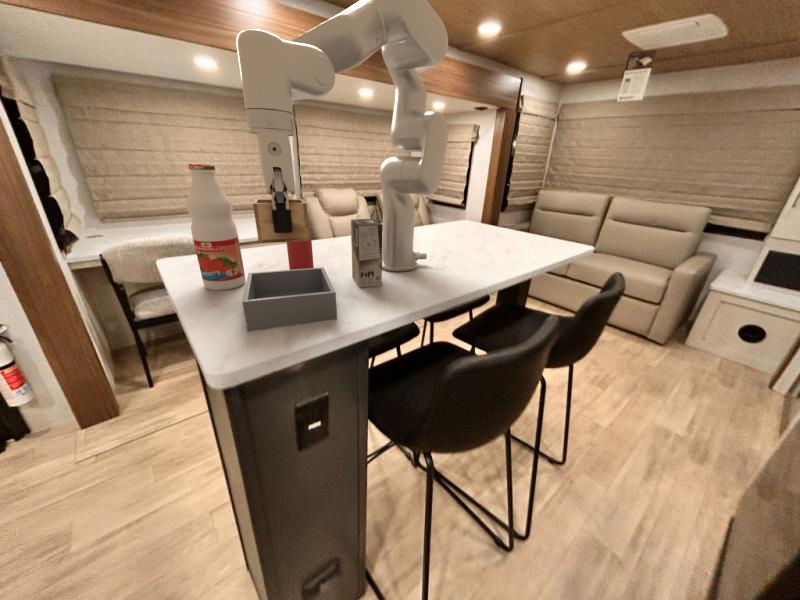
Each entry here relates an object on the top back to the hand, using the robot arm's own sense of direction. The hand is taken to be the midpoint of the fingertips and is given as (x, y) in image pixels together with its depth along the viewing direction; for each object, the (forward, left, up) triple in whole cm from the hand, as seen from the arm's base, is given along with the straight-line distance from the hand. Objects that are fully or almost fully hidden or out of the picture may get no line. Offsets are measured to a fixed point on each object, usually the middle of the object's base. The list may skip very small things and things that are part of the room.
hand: (282, 227), depth 60 cm
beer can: (-4, -23, -18) cm, 29 cm away
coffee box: (-20, -12, -18) cm, 29 cm away
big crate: (0, 0, -17) cm, 17 cm away
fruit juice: (+15, -19, -18) cm, 30 cm away
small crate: (0, 0, -2) cm, 2 cm away
